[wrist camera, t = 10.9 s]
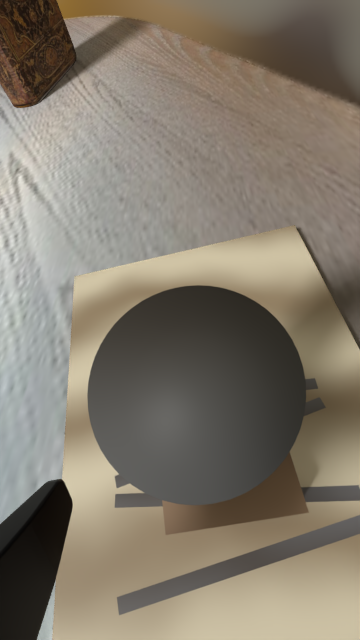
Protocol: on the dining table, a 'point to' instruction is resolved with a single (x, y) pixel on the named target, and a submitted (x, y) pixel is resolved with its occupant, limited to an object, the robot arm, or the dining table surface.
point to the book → (32, 49)
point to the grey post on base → (201, 407)
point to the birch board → (226, 541)
